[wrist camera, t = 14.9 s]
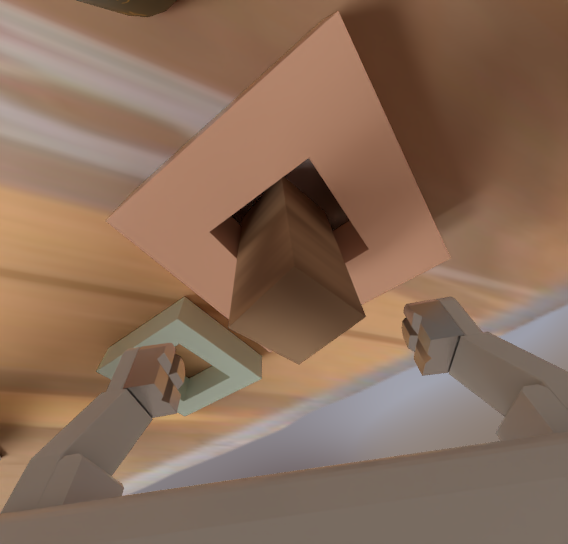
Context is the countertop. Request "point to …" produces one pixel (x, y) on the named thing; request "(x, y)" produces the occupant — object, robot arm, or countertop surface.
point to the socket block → (280, 161)
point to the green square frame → (201, 341)
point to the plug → (291, 277)
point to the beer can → (133, 6)
